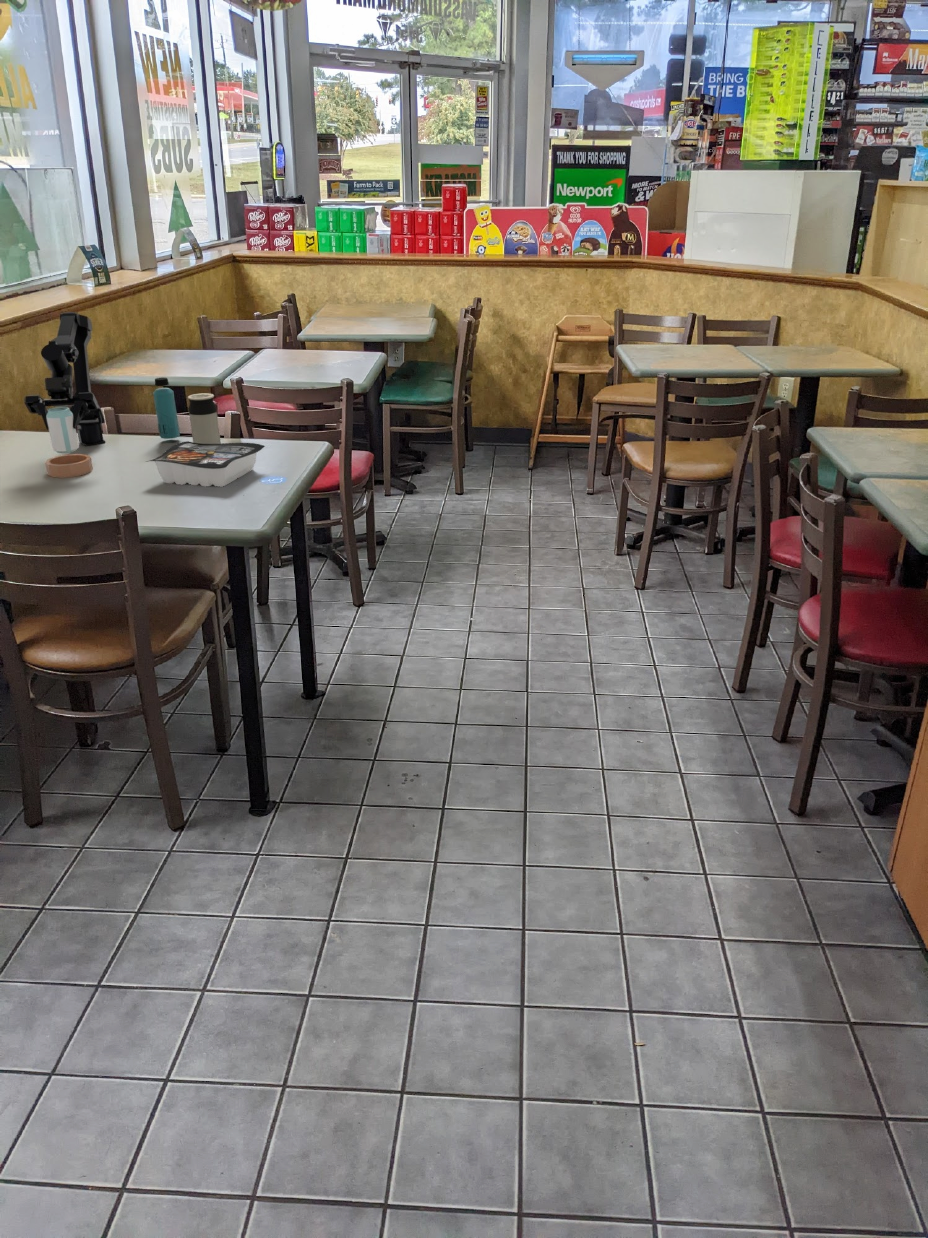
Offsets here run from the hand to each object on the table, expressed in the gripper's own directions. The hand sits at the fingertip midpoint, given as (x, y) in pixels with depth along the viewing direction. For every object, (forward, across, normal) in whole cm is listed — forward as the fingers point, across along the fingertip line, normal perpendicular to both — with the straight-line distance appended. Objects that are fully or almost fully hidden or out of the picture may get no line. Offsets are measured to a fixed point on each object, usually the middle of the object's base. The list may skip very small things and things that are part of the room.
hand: (61, 428), depth 277 cm
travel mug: (+2, +38, +16) cm, 42 cm away
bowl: (+8, 0, +10) cm, 13 cm away
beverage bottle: (-12, +25, +31) cm, 42 cm away
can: (+4, 0, +6) cm, 7 cm away
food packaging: (+18, +40, 0) cm, 44 cm away
